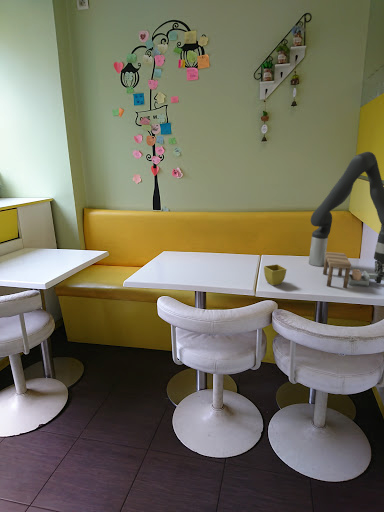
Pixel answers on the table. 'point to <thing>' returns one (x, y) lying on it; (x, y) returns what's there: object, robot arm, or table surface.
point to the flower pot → (274, 274)
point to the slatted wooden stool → (336, 261)
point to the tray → (361, 278)
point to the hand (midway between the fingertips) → (377, 282)
